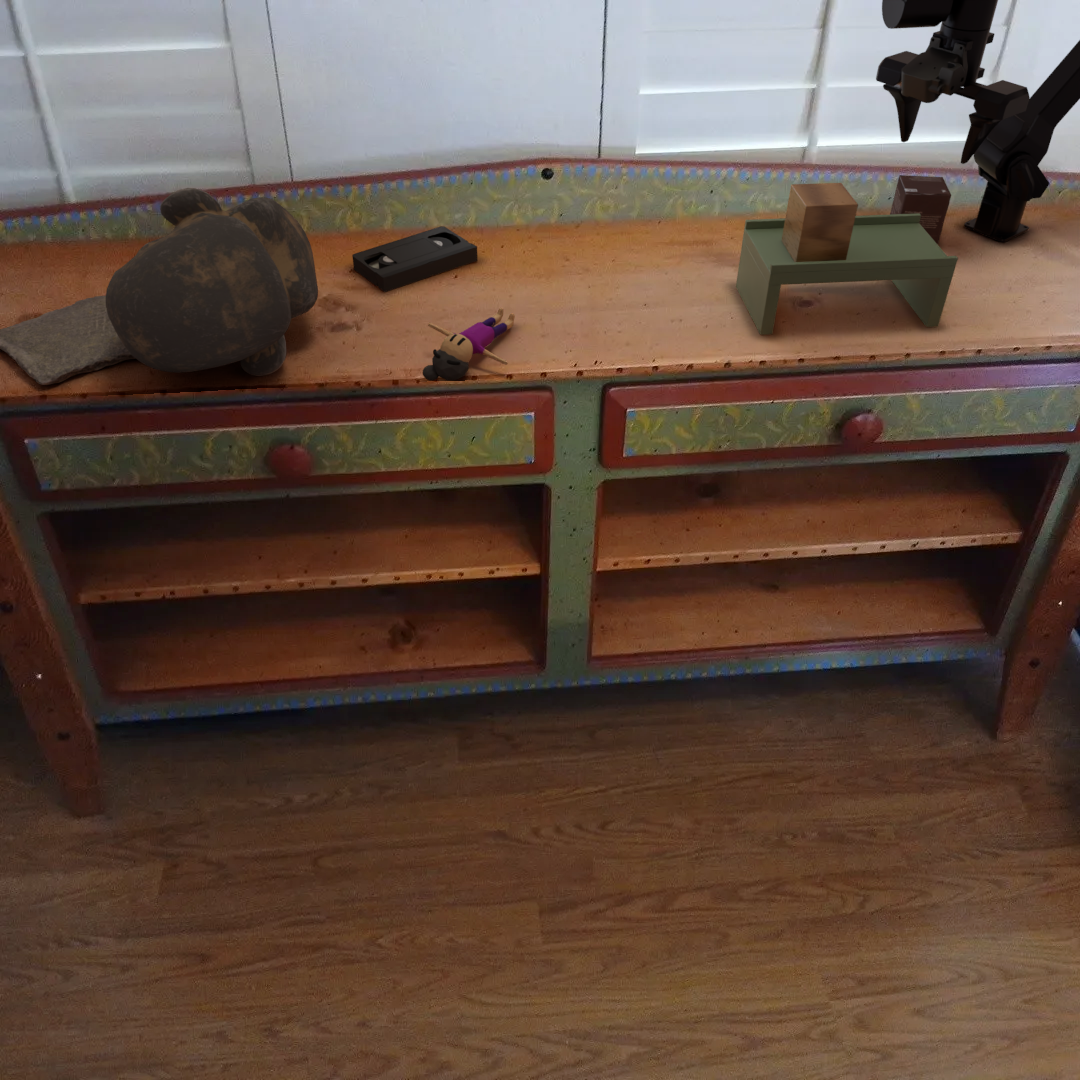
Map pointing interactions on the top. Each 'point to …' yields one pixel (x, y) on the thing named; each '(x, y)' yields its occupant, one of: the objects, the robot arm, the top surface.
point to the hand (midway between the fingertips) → (933, 152)
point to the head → (214, 286)
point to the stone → (65, 342)
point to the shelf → (847, 265)
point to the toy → (465, 347)
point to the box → (923, 201)
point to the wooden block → (819, 222)
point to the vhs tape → (414, 258)
